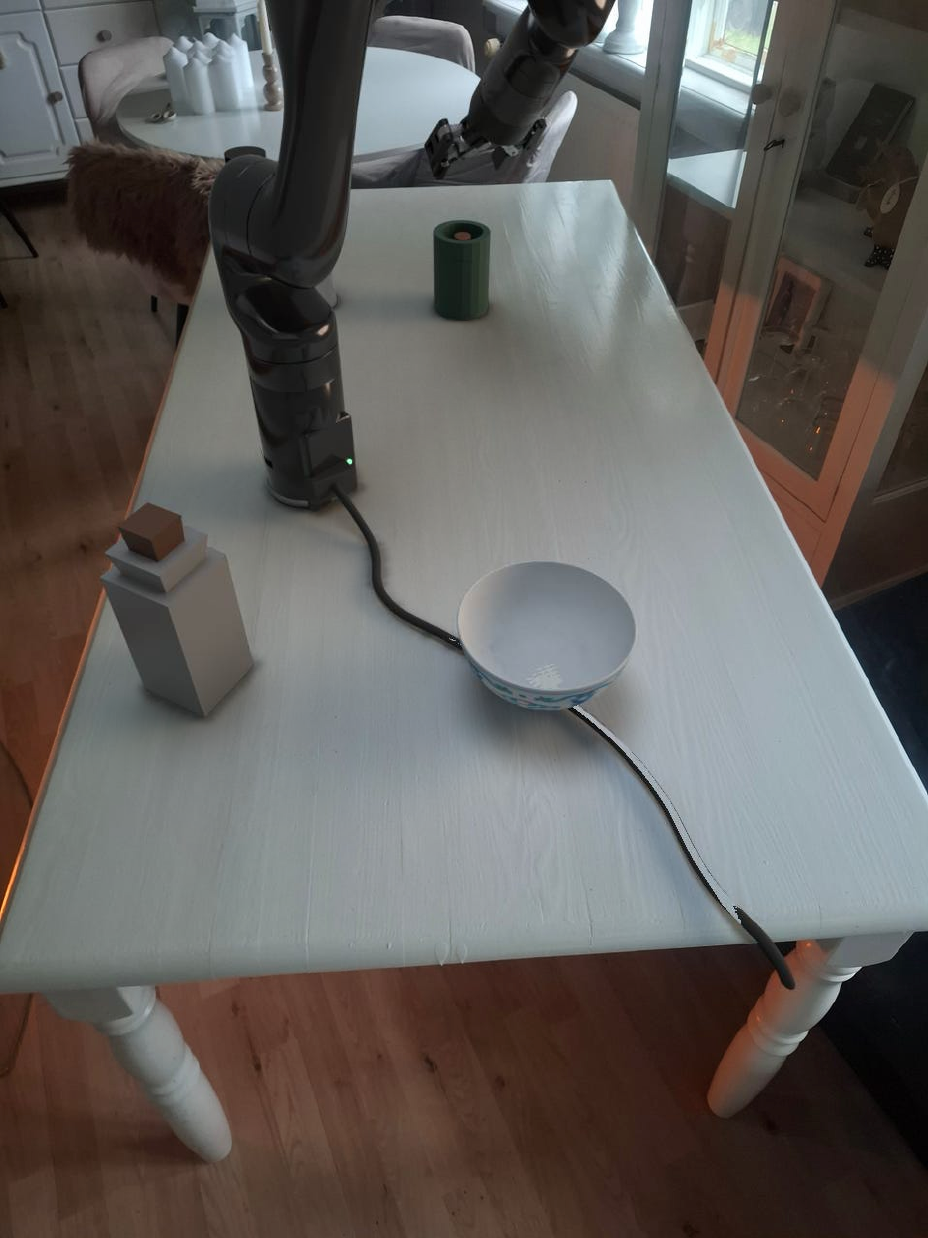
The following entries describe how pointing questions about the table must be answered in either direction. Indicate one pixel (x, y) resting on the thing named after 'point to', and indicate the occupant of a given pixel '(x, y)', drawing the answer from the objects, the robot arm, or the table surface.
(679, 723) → the table surface
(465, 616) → the chinaware
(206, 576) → the perfume bottle
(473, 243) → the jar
